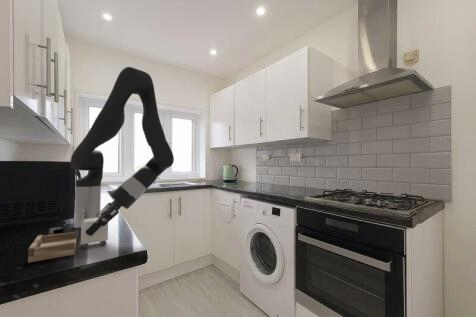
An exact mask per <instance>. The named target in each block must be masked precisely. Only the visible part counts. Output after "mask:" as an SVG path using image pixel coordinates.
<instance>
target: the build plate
mask: <svg viewBox="0 0 476 317" xmlns="http://www.w3.org/2000/svg"><path fill="white" fill-rule="evenodd" d="M64 229H65V228H64V227H61V226H58V227H51V228H49V230H48V235H54V234H61V233H65V230H64Z"/></svg>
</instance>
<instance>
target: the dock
mask: <svg viewBox="0 0 476 317" xmlns="http://www.w3.org/2000/svg"><path fill="white" fill-rule="evenodd" d="M77 236H78V231H69V232H64V233H61V234H54V235H49V234H48V235H44V234H39V235H37V237H35V239H34V241H33V242H32V243H31V244H30V246H29V247H28V249H27V263H28V264H29V263H33V262H40V261H45V260H50V259H56V258H62V257H67V256H68V257H69V256H74V255H75V254H76V247H77V238H78V237H77Z"/></svg>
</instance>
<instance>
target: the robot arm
mask: <svg viewBox="0 0 476 317" xmlns="http://www.w3.org/2000/svg"><path fill="white" fill-rule="evenodd" d="M133 94H134V95H138V96H139V99H140V100H141V104H142V116H141V117H142V119H141V127H142V131H143V134H144V135H143V136H144V137H145V140H146V143H147V145H148V146H149V148H150V149H151V150H150V151H151V153H152V155H153V156H152V157H151V158H150V159H149V160H148V161H147V162H146V164H145V165H143V166H141V168H139V169H138V170H136V171H135V173H134V174H133V175H132V176H130V177H129V178H127V179H125V181H124V182H122V184H121V185H119V186H118V187H117V188H116V189H115V190H114V191H113V192H112V193H111V194H110V197H111V198H112V199H113V201H112V202H110V201H109V202H108V203H107V204H106V205H105V206H104V207H103V208H102V209H101V199H102V198H101V196H102V195H101V194H102V193H101V192H102V191H101V190H102V188H101V187H102V180H103V176H104V175H103V174H104V173H103V172H104V162H105V161H104V155H103V152H102V151H101V150H99V149H98V148H99V147H100V146H101V145H103V144H105V143H107V142H109V141H111V140H112V139H114V137H116V136H117V134H119V132H120V130H121V129H122V127H123V125H124V123H125V119H126V118H125V116H126V115H125V106H126V104H127V102H128V101H129V99H130V98H131V96H132V95H133ZM162 126H163V125H162V123H161V119H160V115H159V110H158V105H157V99H156V93H155V87H154V82H153V78H152V76H151V75H150V74H149V73H147V72H146V71H143V70H141V69H138V68H135V67H133V66H132V67H131V66H127V67H125V68H123V69H122V70H121V71H120V72H119V74H118V76H117V78H116V80H115V83H114V84H113V87H112V90H111V92H110V94H109V95H108V98H107V99H106V101H105V103H104V105H103V107H102V108H101V110H100V111H99V113H98V115H97V116H96V118H95V119H94V121H93V124H92V126H91V127H90V129H89V130H88V132H87V133H86V135H85V137H84V138H83V139H82V140H81V141H80V143H79V145H77V147H76V148H75V150H74V151H73V153H72V154H71V157H70V166H71V168H72V169H74V170H75V171H88V173H87V174H86V175H84V176H82V177H80V178H78V179H76V180H75V189H74V190H75V193H74V194H75V196H74V228H75V229H81V221H82V210H84V219H90V218H98V219H97V220H96V222H95V223H94V224H93V225H92V226H90V227H89V228H88V229H87V230H86V234H88V235H89V236H92V235H93V234H94V233H95V232H96V231H97V230H98V229H99V228H100V227H102V226H105V225H106V224H107V223H108V224H109V222H110V221H112V220H113V218H115V217H116V216H117V215H119V214H120V212H119V210H120V209H121V208H122V207H123V208H124V209H126V210H129V208H130V207H131V206H132V205H134V203H136V202H137V200H139V198H141V197H142V196H143V194H145V192H146V191H147V189H149V188H150V187H151V186H152V185H153V184H154V183H155V181H156V180H157V179H158V177H159V176H161V174H162V173H164V172H165V171H166V170H167V169H169V168H170V167H172V166H173V164H174V161H175V160H174V154H173V151H172V148H171V147H170V145H169V142H168V141H167V138H166V134H165V133H164V129H163V127H162ZM102 219H105V221H103V220H102Z"/></svg>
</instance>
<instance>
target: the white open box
mask: <svg viewBox="0 0 476 317" xmlns="http://www.w3.org/2000/svg"><path fill="white" fill-rule="evenodd" d="M97 219H98V218H90V219H84V210H82V221H81V228H80V245H82V249H83V250H86V249H88V248H89V244H92V243H93V244H94V243H99V242H100V245H101V246H102V247H104V246H106V245H107V241H108V240H109V222H108V223H107V224H106V225H105V226H102V227H100V228H99V229H98V230H97V231H96V232H95V233H94V234H93V235H92V236H89V235H88V234H86V230H87V229H88V228H89V227H90V226H92V225H93V224H94V223H95V222H96V220H97ZM102 220H103V221H105V219H102Z"/></svg>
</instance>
